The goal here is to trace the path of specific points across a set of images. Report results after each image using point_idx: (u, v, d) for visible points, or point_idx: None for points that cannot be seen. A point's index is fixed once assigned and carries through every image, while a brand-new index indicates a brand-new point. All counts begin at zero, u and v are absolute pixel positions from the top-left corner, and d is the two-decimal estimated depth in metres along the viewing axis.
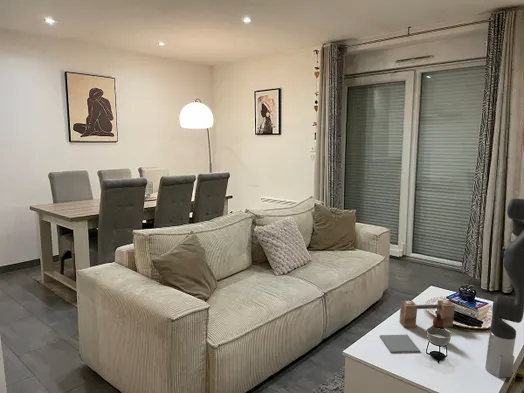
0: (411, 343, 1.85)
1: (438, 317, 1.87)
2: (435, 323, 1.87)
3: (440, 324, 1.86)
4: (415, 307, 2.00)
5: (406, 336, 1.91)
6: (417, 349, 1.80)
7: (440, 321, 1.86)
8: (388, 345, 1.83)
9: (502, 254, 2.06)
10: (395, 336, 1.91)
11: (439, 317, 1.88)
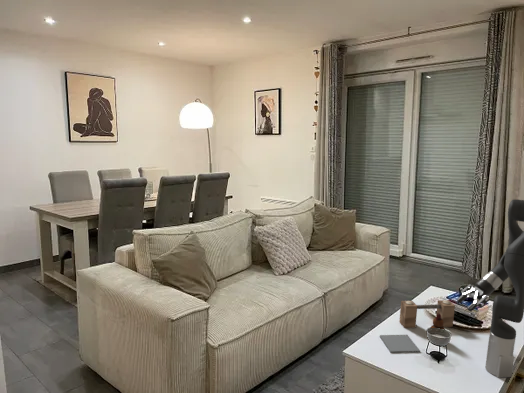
0: (411, 343, 1.85)
1: (438, 317, 1.87)
2: (435, 323, 1.87)
3: (440, 324, 1.86)
4: (415, 307, 2.00)
5: (406, 336, 1.91)
6: (417, 349, 1.80)
7: (440, 321, 1.86)
8: (388, 345, 1.83)
9: (464, 289, 1.93)
10: (395, 336, 1.91)
11: (439, 317, 1.88)
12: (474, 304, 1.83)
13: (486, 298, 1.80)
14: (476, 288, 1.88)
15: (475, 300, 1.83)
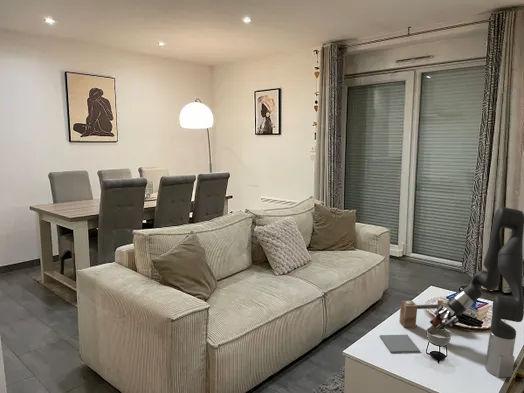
0: (411, 343, 1.85)
1: (438, 317, 1.87)
2: (435, 323, 1.87)
3: None
4: (415, 307, 2.00)
5: (406, 336, 1.91)
6: (417, 349, 1.80)
7: (440, 321, 1.87)
8: (388, 345, 1.83)
9: (436, 310, 1.93)
10: (395, 336, 1.91)
11: (439, 317, 1.88)
12: (442, 324, 1.85)
13: (455, 320, 1.81)
14: (448, 308, 1.89)
15: (444, 320, 1.85)
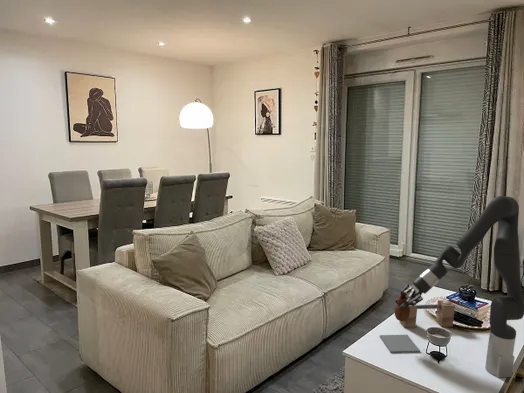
0: (411, 343, 1.85)
1: (402, 295, 1.81)
2: (399, 302, 1.81)
3: None
4: (415, 307, 2.00)
5: (406, 336, 1.91)
6: (417, 349, 1.80)
7: (404, 299, 1.80)
8: (388, 345, 1.83)
9: (402, 289, 1.87)
10: (395, 336, 1.91)
11: (403, 295, 1.82)
12: (407, 302, 1.78)
13: (419, 298, 1.75)
14: (413, 286, 1.83)
15: (408, 298, 1.79)
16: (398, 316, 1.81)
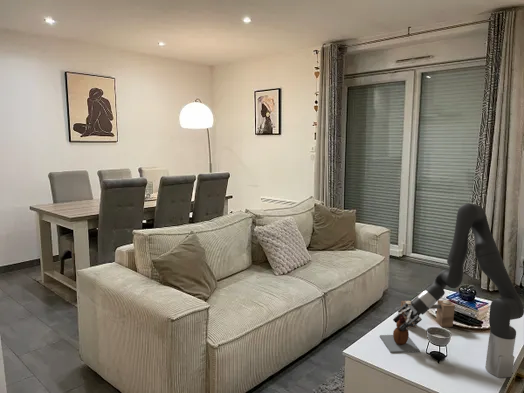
0: (411, 343, 1.85)
1: (401, 320, 1.82)
2: (398, 326, 1.82)
3: None
4: None
5: None
6: (417, 349, 1.80)
7: None
8: (388, 345, 1.83)
9: (400, 308, 1.89)
10: None
11: (403, 320, 1.83)
12: (406, 323, 1.79)
13: (418, 318, 1.77)
14: (411, 307, 1.85)
15: (407, 319, 1.80)
16: (397, 340, 1.83)
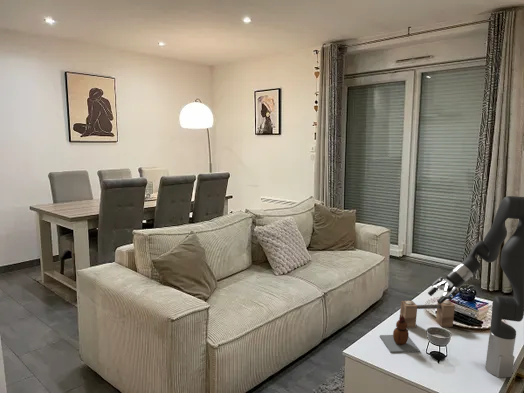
0: (411, 343, 1.85)
1: (401, 320, 1.82)
2: (398, 326, 1.82)
3: (403, 327, 1.81)
4: (415, 307, 2.00)
5: None
6: (417, 349, 1.80)
7: (403, 324, 1.82)
8: (388, 345, 1.83)
9: (435, 282, 1.90)
10: None
11: (402, 320, 1.83)
12: (444, 296, 1.80)
13: (455, 290, 1.77)
14: (446, 280, 1.85)
15: (445, 292, 1.80)
16: (396, 340, 1.83)
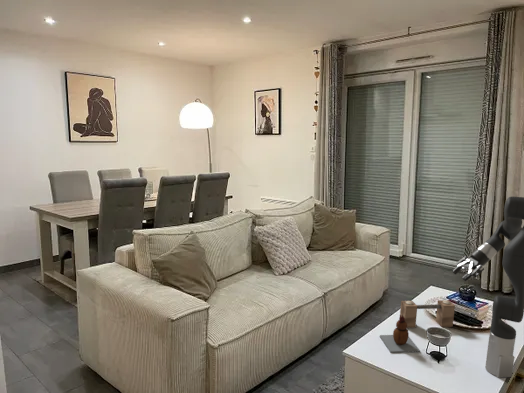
0: (411, 343, 1.85)
1: (401, 320, 1.82)
2: (398, 326, 1.82)
3: (403, 327, 1.81)
4: (415, 307, 2.00)
5: None
6: (417, 349, 1.80)
7: (403, 324, 1.82)
8: (388, 345, 1.83)
9: (459, 261, 1.96)
10: None
11: (402, 320, 1.83)
12: (469, 274, 1.85)
13: (480, 267, 1.83)
14: (471, 259, 1.91)
15: (470, 270, 1.86)
16: (396, 340, 1.83)
